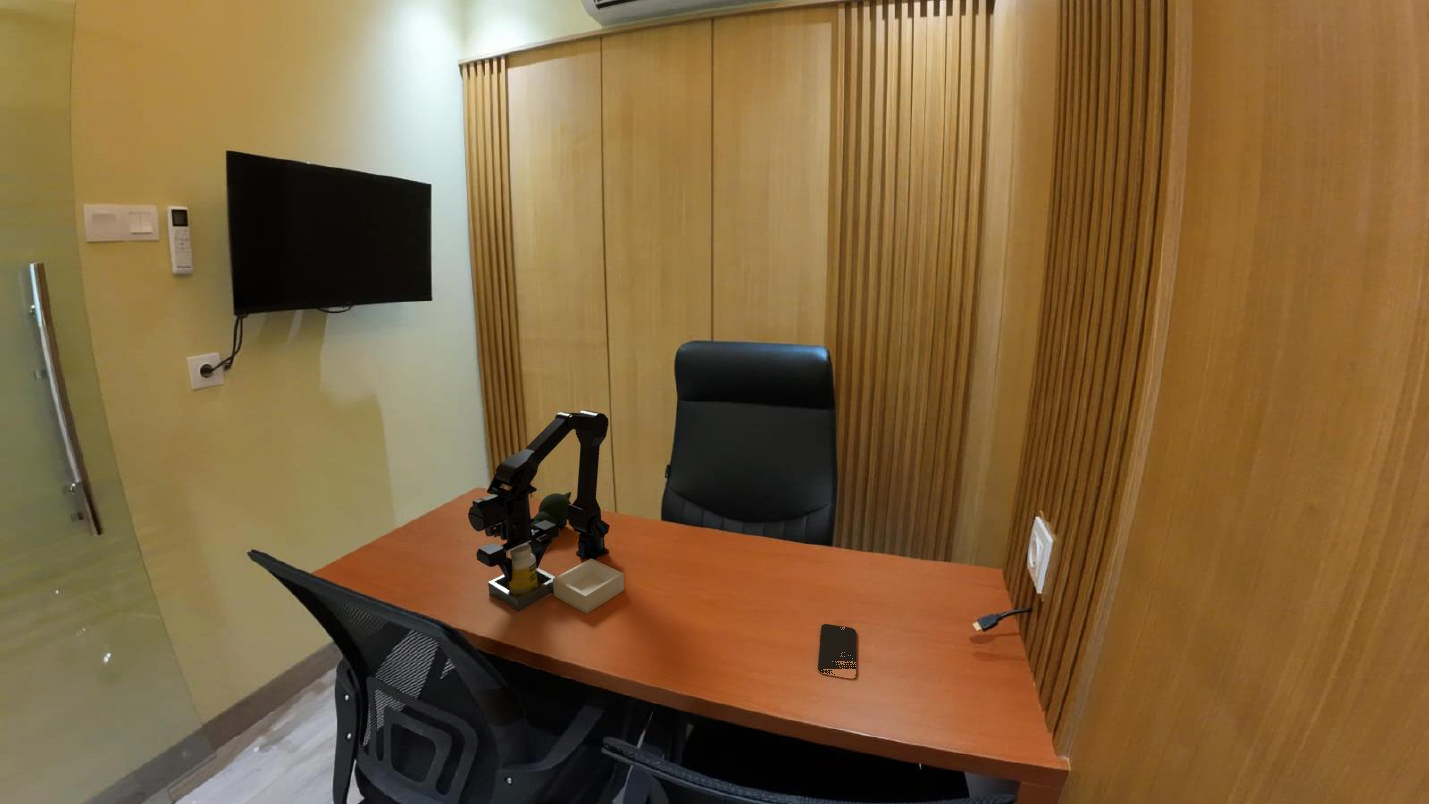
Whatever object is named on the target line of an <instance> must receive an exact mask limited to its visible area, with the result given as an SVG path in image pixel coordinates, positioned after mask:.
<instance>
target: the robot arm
mask: <svg viewBox="0 0 1429 804" xmlns="http://www.w3.org/2000/svg"><path fill="white" fill-rule="evenodd" d="M609 424H610V423H609V418H608V417H607V415H606V414H605V413H602V412H597V411H592V410H588V409H582V410H581V411H580V412H566V411H565V412H564V411H561V412H558V413H557V414H556V415H555V416H554V419H553V420H552V421H550V423H549V424H548V425H546V427H545V428H544V429H543V430H542V431H541V432H540V433H539V434H538V435H537V436H536V437H534V439H533V440H532V441H531V442H530V443H529V444H527V446H526V447H525V448H523V449H522V450H521V451H518V452H516V453H514V454H511V455H510V456H508V457H507V458H506V459H504V460H503V461H502V462H500V463H499V464H498V465H497V467H496V468H495V474H494V476H493V478H492V480H491V482H490V484H489V486H488V488H487V490H486V493H487V494H489V495H487V496H484V497H481V498H476V499H474V500H472V501H471V502H472V503H471V504H472V506H470V507H469V509H468V513H467V517H468V521H469V523H470V525H471V527H472V528H473V530H475V531H476V532H482V531H484V533H485V535H486V537H488V538H489V537H493V538H494V539H495V538H497V537H499V538H500V540H501V541H506V542H505V543H503V544H501V545H498V544H496V543H495V542H491V543H488V544H485V545H483V546H481V547H479V548H478V549H477V550H476V553H475V555H476V560H477V561H478V562H480V563H481V564H484V565H485V566H487V567H489V568H493V567H496V566H498V567H499V569H500V571H501V572H502V573H503V574H502V575H504V576H505V578H506V579H507V581H508V582H511V580H512V559H510V557H509V556H508V555H509V553H510V551H511V550H513V549H515V548H517V547H520V546H522V545H524V544H526V543H528V542H530V543H531V546H532V548H531V553H532V554H533V555H534V556H535V558H536V568H539V566H540V564H541V561H542V560H543V557H544V555H545V553H546V551H547V549H548V547H549V545H550V544H552V543H553V540H554V539H556V538H559V537H560V534H561V533H560V528H559V527H558V526H557V525H555V524H553V523H551V522H549V521H546V520H544V521H542V522H539V523H537V524H535V525H533V526H532V527H531V523H533V522H534V517H532V515H531V505H530V495H531V494H533V493H535V492H536V491H537V490H538V489H537V487H535V486H533V485H532V484H531V482H532V481H533V480H534V479H535V477H536V475H537V474H538V470H539V467H540V465H541V463H542V462H543V461H544V460H545V459H546V458H547V457H548V455H550V454H551V452H552V451H554V449H555V448H556V447H557V446H558V445H559V444H560V443H561V442H562V441H563V440H564V439H565V438H566V436H568V435H569V434H570V433H571V432H572V430H575V435H576V437H577V440H578V442H579V448H580V449H579V460H578V461H579V462H578V473H577V474H578V476H577V477H578V478H577V491H576V498H575V499H574V501H573V503H571V504H569V505H568V515H567V518H566V519H568V520H567V524H568V525H569V526H570V527H571V528H572V529H573V531H574V532H577V533H578V540H577V549H578V550H577V551H575V555H578V556H580V557H582V558H584V559H586V560H589V559H594V560H595V559H596V560H597V558H599V557H601V556H603V555H605V554H606V553H608V552H609V551H610V549H608V548H607V547H605V536H606V535H607V534H609V531H610V524H608V523H607V522H605V521H604V520H603V519H602V510H601V506H600V505H599V502H598V500H597V489H598V488H597V487H598V476H599V475H598V473H599V461H600V447H601V445H602V443H603V442H604V440H606V437H607V434H608V430H609V429H608V428H609ZM502 486H505V487H508V488H510V489H506V488H503V487H502ZM530 493H531V494H530Z"/></svg>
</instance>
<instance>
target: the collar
mask: <svg viewBox="0 0 1429 804" xmlns="http://www.w3.org/2000/svg"><path fill="white" fill-rule="evenodd" d="M555 577H556V576H555V575H553V574H551V573H549V572H547V571H545V570H543V569H541V568H539V567H538V568H537V580H538V583H540V584H539V585H538V587H536V588H534V589H532V590H530V591H528V592H527V593H525V594H523V595H521V596H517V595H516V594H514V593H512V592H511V591H510V589H507V588H508V587H509V582H508V581H507V579H506V578H505V576H504V574H502V575H500V576H498V577H495V578H494V579H492V580H489V581H488V582H487V585H488V593H489V595H491V596H492V597H495V598H496V599H498V600H499V601H501V602H502V603H504V604H505V605H507V606H509V607H510V608H511V609H514V610H515V611H516V612H521V611H523V610H525V609H527V608H529V607H531V606H532V605H534V604H535V603H538V602H539V601H542V600H543V599H545V598H546V597H548V596H551V594H554V588H553V578H555Z"/></svg>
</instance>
